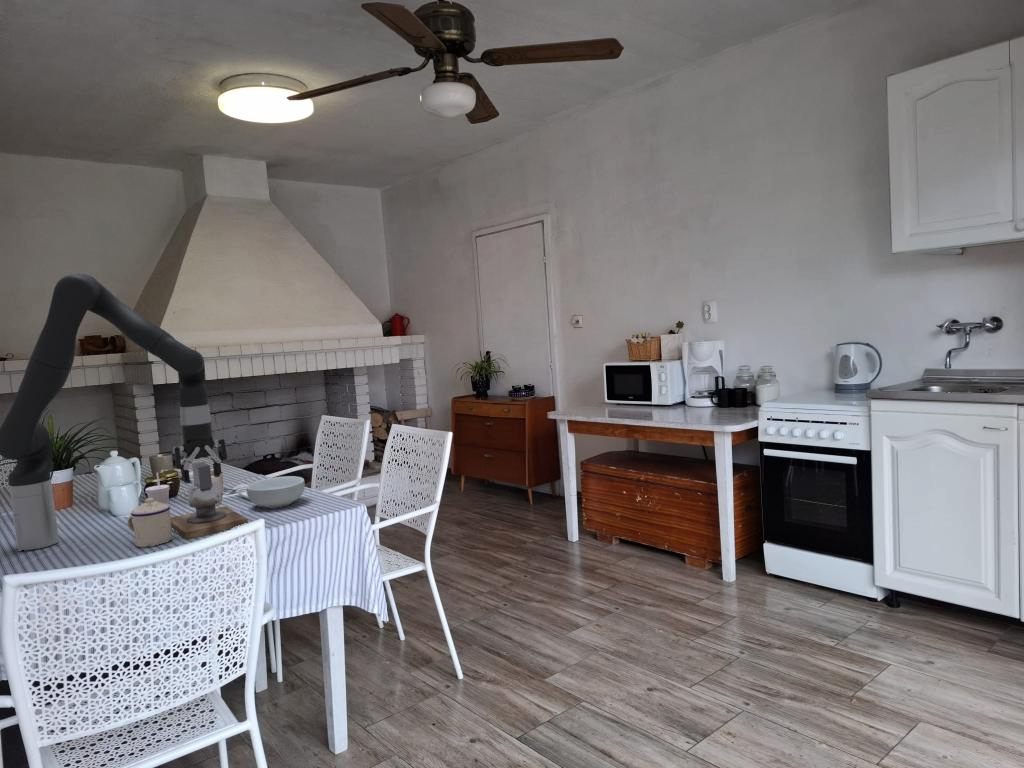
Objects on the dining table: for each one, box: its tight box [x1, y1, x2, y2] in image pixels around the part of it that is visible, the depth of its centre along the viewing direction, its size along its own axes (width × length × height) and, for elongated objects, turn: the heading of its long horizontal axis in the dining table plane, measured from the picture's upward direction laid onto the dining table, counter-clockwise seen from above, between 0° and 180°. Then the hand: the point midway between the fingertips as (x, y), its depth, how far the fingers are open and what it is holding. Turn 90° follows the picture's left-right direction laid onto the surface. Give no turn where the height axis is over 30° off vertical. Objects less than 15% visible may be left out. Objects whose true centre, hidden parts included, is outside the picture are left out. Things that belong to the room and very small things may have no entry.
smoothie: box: [145, 472, 171, 505], centre depth 203 cm, size 6×6×14 cm
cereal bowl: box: [245, 475, 306, 509], centre depth 212 cm, size 17×17×7 cm
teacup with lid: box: [126, 497, 173, 548], centre depth 181 cm, size 12×9×12 cm
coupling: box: [186, 461, 222, 508], centre depth 193 cm, size 10×8×11 cm
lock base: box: [170, 504, 249, 540], centre depth 194 cm, size 16×20×6 cm
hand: (202, 479), depth 193 cm, fingers open, 8 cm apart
